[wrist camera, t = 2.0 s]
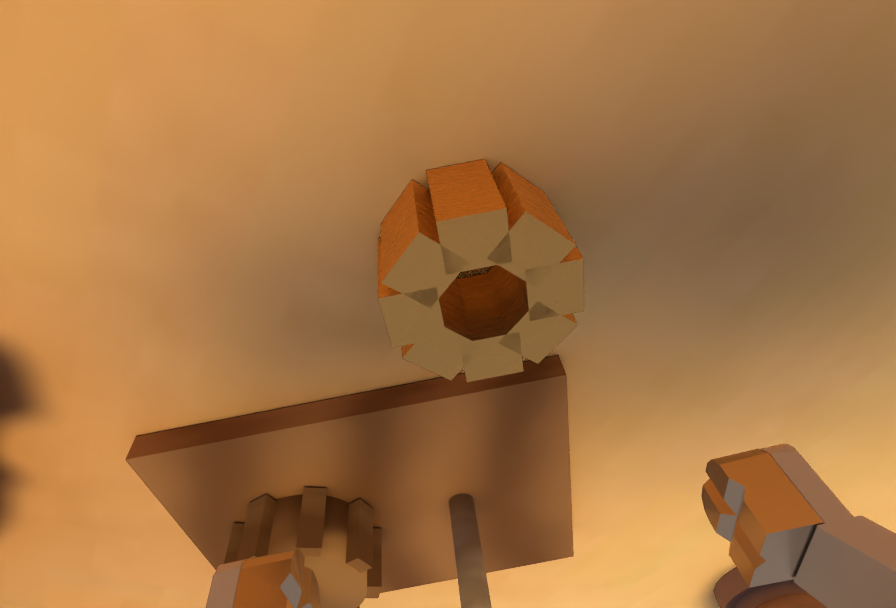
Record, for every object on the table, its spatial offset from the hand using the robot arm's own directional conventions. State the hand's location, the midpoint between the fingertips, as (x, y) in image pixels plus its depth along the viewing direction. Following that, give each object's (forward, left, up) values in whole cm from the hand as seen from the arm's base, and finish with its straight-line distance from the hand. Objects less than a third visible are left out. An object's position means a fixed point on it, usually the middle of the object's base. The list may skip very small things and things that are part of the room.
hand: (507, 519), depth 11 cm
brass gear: (-1, 0, -10) cm, 10 cm away
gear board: (+5, +13, -10) cm, 17 cm away
